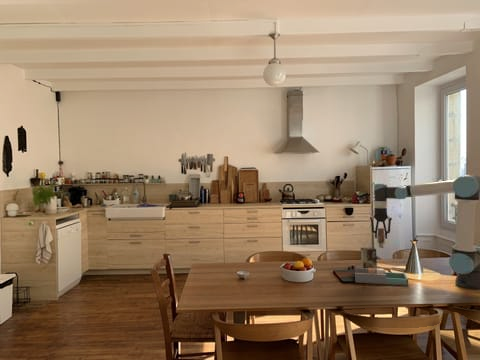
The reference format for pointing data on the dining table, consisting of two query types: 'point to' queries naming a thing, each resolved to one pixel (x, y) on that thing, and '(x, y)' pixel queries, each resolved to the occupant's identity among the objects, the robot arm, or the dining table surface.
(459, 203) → the robot arm
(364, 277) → the slot board
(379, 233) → the brown block with tab
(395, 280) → the chute tray
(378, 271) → the cream cube
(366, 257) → the coffee box
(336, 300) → the dining table surface
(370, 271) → the peach cube block
